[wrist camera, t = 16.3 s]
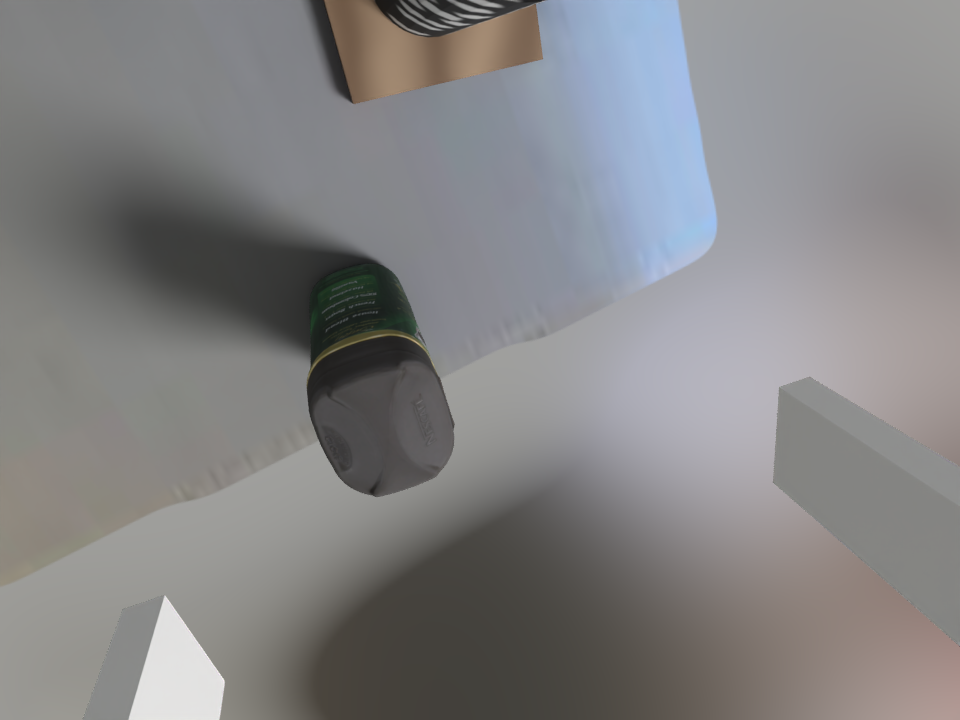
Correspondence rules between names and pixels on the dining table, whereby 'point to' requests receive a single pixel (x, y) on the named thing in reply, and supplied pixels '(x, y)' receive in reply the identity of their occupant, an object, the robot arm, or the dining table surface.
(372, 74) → the square wooden board
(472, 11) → the spotted tube
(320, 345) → the coffee jar
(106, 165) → the dining table surface
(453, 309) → the dining table surface
